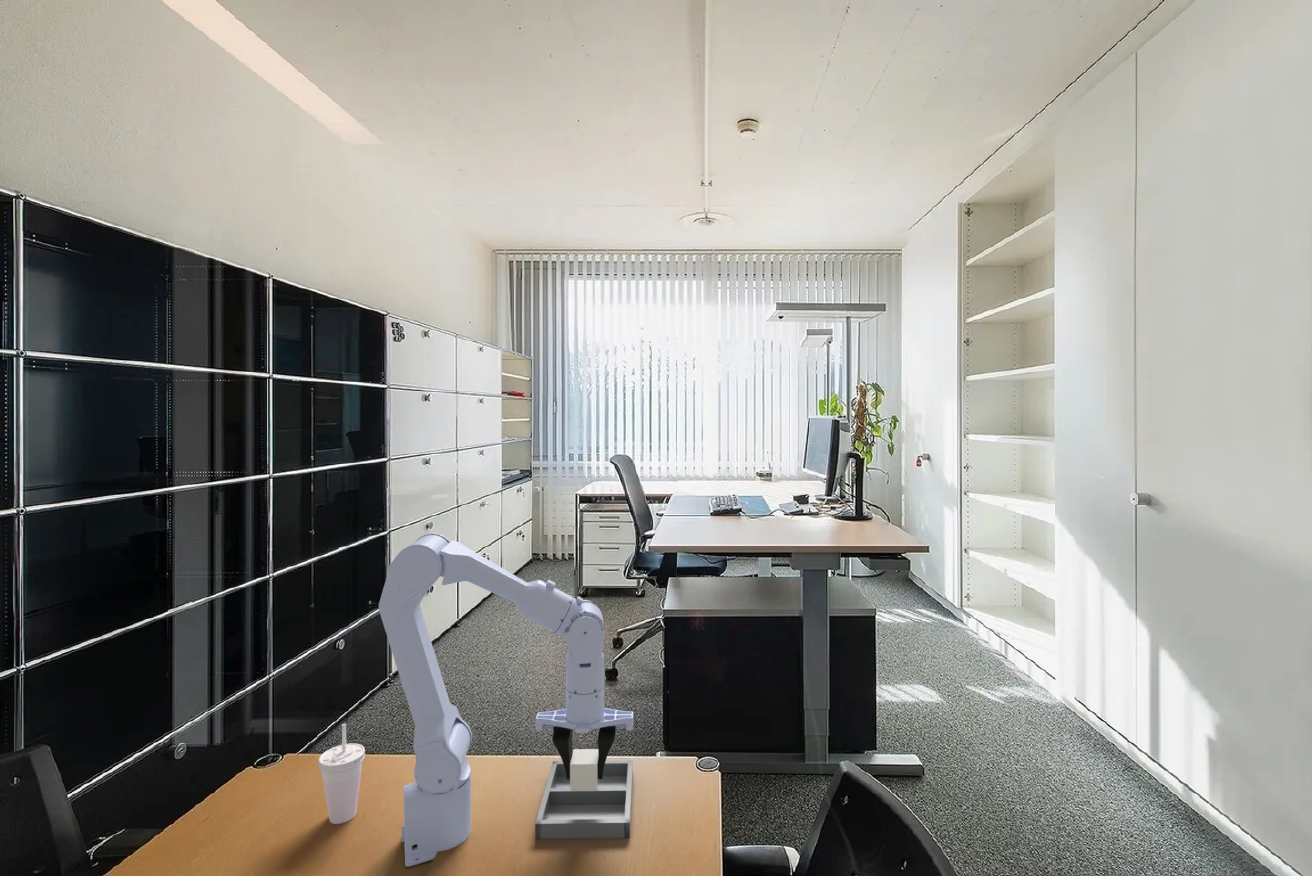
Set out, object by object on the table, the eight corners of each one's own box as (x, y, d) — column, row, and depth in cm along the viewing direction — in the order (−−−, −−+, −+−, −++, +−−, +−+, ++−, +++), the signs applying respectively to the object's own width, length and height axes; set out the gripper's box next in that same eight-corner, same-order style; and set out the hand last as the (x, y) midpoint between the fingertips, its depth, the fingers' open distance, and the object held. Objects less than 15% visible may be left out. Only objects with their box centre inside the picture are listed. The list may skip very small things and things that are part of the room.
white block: (570, 791, 85) (570, 764, 85) (573, 775, 89) (573, 749, 89) (597, 791, 86) (597, 764, 85) (599, 774, 90) (599, 749, 89)
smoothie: (374, 803, 93) (373, 717, 92) (349, 831, 86) (348, 738, 86) (336, 801, 93) (335, 715, 93) (309, 828, 87) (307, 736, 87)
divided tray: (535, 844, 83) (535, 823, 83) (553, 778, 99) (553, 761, 99) (629, 843, 84) (629, 822, 84) (632, 777, 99) (632, 760, 99)
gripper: (531, 698, 83) (531, 792, 83) (632, 698, 83) (632, 791, 84) (540, 677, 90) (540, 764, 90) (633, 677, 90) (633, 763, 91)
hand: (585, 775), depth 87 cm, fingers closed on white block, 4 cm apart
